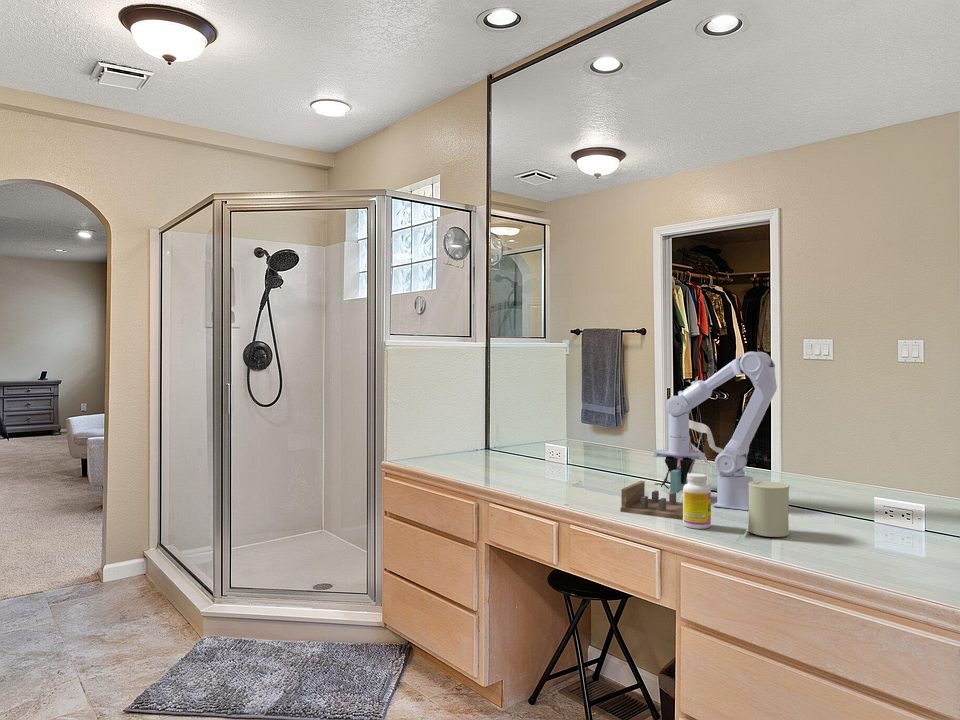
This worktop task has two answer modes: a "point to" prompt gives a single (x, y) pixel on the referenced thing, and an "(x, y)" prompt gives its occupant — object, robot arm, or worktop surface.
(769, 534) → the can
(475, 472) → the worktop surface
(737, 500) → the robot arm
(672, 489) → the door panel
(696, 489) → the supplement bottle
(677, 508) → the board
